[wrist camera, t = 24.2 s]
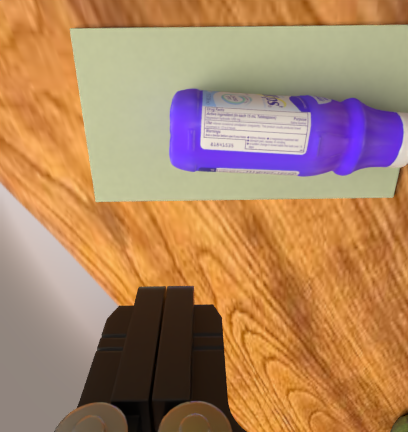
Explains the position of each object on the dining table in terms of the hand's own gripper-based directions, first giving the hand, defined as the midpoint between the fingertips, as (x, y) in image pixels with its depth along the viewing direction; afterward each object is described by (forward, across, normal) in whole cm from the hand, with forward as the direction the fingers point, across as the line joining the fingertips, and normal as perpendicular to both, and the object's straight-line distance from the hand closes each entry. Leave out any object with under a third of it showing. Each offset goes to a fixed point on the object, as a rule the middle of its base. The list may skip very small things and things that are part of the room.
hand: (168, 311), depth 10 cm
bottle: (+19, +2, -1) cm, 19 cm away
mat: (+23, -5, -1) cm, 24 cm away
